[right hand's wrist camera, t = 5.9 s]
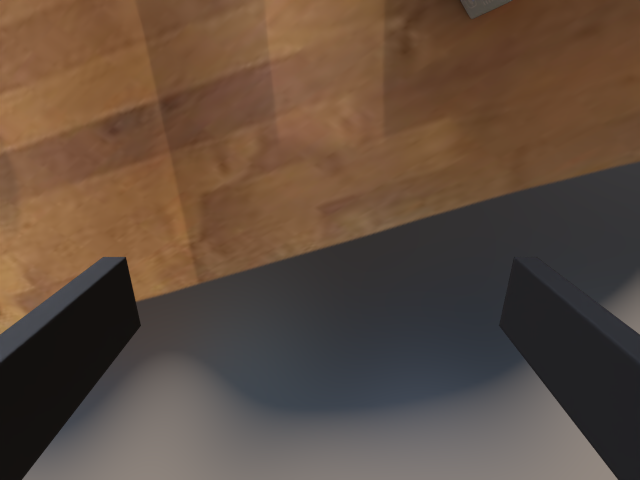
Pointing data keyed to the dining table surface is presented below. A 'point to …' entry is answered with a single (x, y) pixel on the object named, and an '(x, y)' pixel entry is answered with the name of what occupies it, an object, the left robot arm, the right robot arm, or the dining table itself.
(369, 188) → the dining table surface
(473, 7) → the hard drive box
